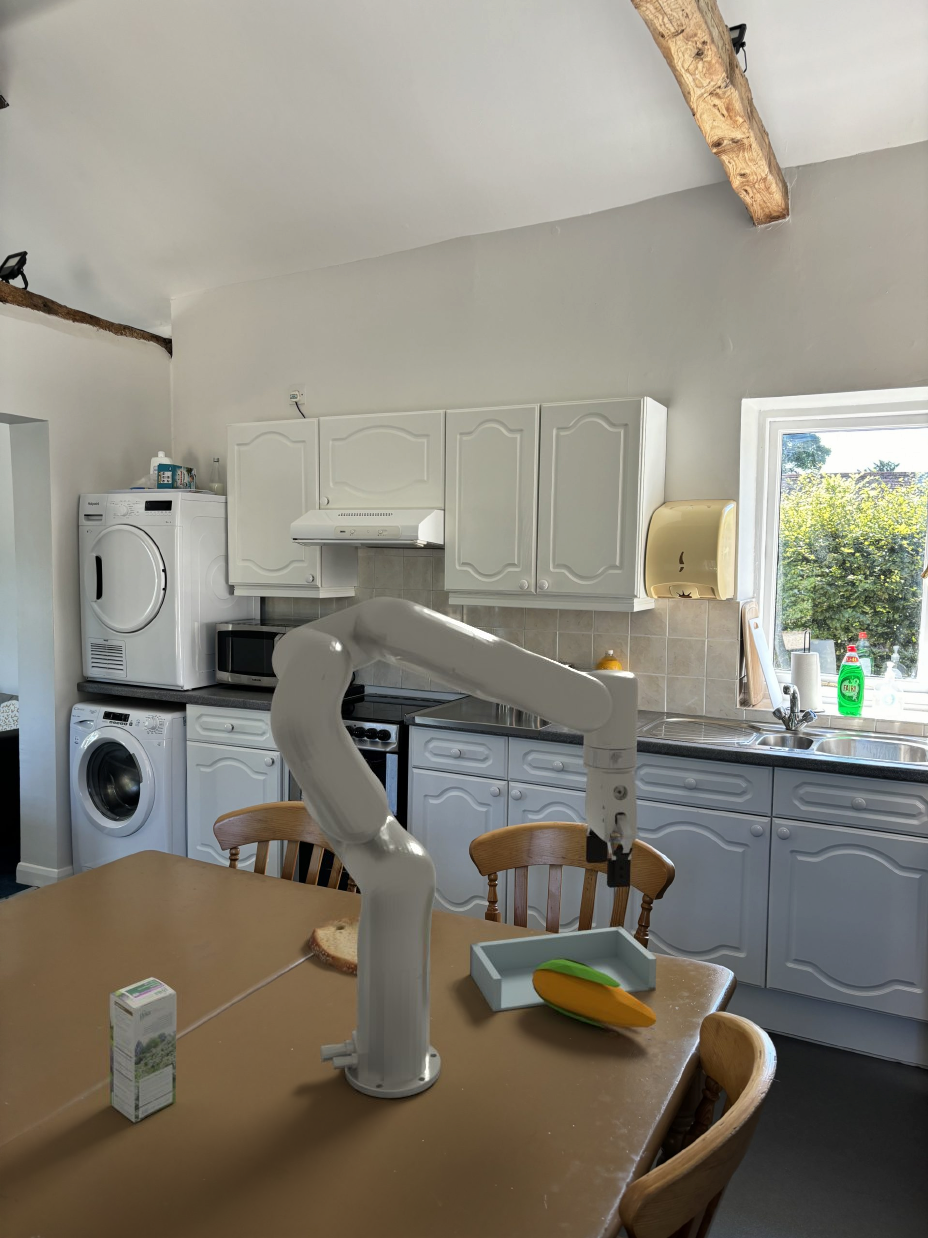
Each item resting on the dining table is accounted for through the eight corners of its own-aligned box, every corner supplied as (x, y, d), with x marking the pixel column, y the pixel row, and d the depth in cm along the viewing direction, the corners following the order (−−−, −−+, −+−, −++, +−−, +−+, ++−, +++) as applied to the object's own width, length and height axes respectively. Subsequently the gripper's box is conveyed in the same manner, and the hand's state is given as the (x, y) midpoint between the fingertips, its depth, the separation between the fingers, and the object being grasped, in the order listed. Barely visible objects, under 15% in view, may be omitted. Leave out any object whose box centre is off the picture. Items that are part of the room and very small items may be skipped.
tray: (493, 1011, 129) (494, 979, 129) (469, 973, 141) (470, 944, 141) (655, 989, 137) (656, 958, 136) (620, 954, 149) (620, 926, 148)
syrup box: (152, 1084, 110) (150, 974, 109) (178, 1103, 107) (177, 989, 106) (109, 1105, 106) (107, 991, 105) (135, 1126, 102) (133, 1007, 101)
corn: (547, 939, 135) (668, 980, 124) (547, 984, 136) (667, 1029, 125) (522, 961, 129) (647, 1006, 118) (522, 1008, 130) (646, 1057, 119)
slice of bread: (405, 979, 140) (405, 957, 139) (294, 976, 140) (294, 954, 140) (414, 932, 158) (414, 912, 157) (316, 929, 158) (316, 909, 158)
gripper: (657, 770, 115) (654, 895, 117) (615, 743, 133) (612, 853, 134) (603, 772, 114) (600, 898, 115) (567, 744, 131) (565, 855, 132)
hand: (607, 874), depth 125 cm, fingers open, 9 cm apart
